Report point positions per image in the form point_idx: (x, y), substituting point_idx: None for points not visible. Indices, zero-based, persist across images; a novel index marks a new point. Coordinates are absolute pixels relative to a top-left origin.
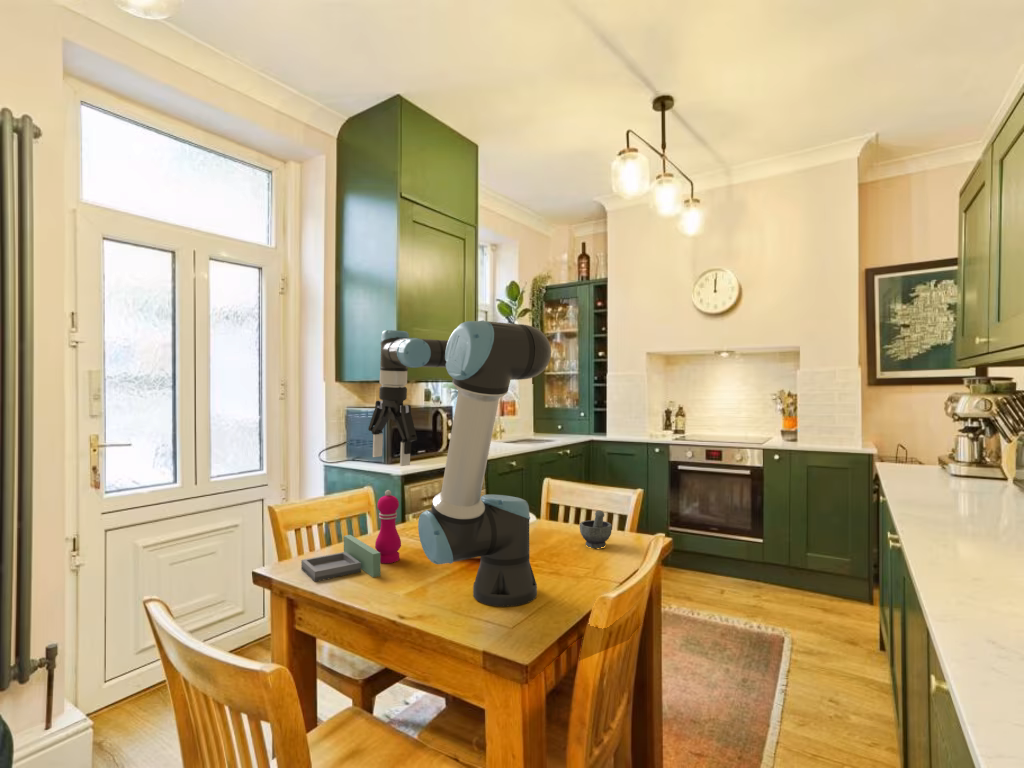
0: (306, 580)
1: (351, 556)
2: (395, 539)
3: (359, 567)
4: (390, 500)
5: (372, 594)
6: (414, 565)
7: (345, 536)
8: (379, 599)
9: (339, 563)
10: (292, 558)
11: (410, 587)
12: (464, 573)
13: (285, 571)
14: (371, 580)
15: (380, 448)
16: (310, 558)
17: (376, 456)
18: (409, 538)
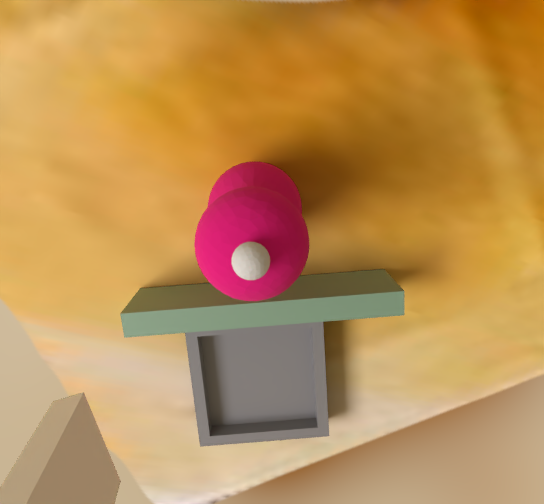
0: None
1: None
2: (296, 199)
3: None
4: (301, 255)
5: (499, 326)
6: (355, 147)
7: (136, 334)
8: (541, 322)
9: (241, 348)
10: None
11: (520, 229)
12: (525, 36)
13: (199, 463)
14: None
15: (60, 484)
16: (199, 424)
17: (109, 460)
18: (25, 29)
